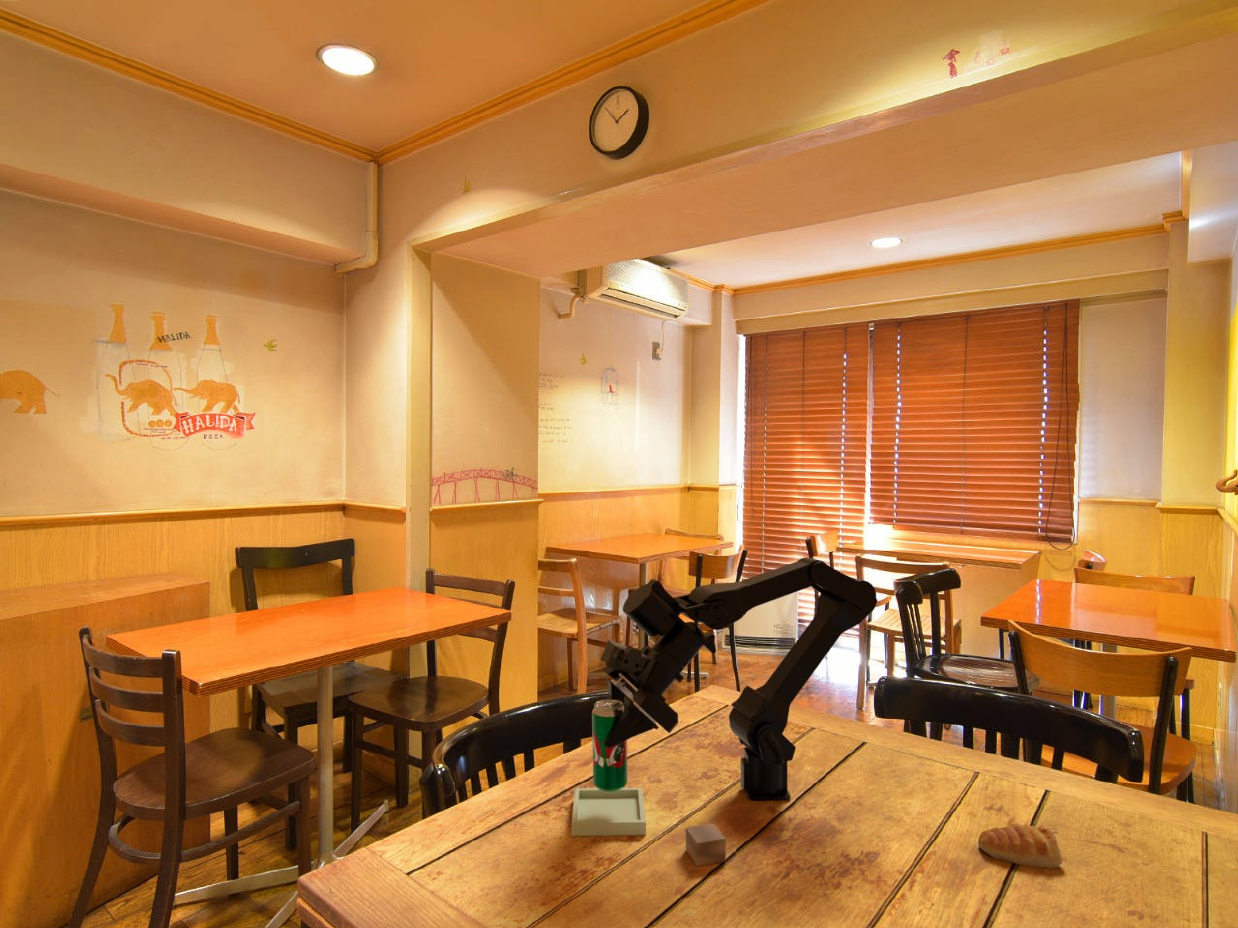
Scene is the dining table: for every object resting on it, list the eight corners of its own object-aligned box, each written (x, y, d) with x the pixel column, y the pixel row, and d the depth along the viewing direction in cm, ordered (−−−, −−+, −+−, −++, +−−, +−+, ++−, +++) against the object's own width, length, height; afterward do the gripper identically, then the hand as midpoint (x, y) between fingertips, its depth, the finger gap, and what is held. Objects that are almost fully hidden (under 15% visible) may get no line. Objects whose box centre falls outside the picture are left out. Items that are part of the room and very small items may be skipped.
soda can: (632, 780, 106) (631, 700, 106) (620, 795, 101) (619, 711, 101) (600, 775, 108) (599, 696, 108) (587, 790, 103) (586, 707, 103)
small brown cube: (713, 845, 97) (713, 823, 97) (725, 861, 93) (725, 838, 93) (685, 849, 96) (685, 827, 96) (697, 866, 92) (697, 843, 92)
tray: (642, 799, 110) (642, 787, 110) (646, 834, 99) (646, 822, 99) (575, 799, 110) (575, 788, 110) (571, 835, 99) (571, 822, 99)
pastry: (989, 866, 92) (988, 837, 92) (970, 839, 99) (970, 811, 99) (1067, 871, 91) (1066, 841, 91) (1042, 843, 97) (1042, 816, 97)
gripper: (614, 608, 114) (548, 685, 111) (655, 636, 97) (578, 728, 93) (661, 652, 117) (597, 728, 114) (709, 687, 99) (635, 778, 96)
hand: (600, 738), depth 104 cm, fingers closed on soda can, 5 cm apart
